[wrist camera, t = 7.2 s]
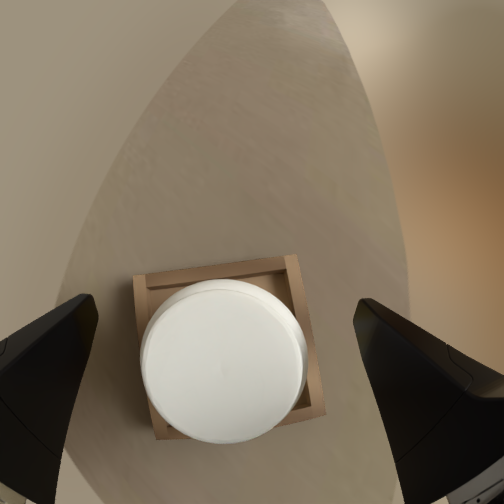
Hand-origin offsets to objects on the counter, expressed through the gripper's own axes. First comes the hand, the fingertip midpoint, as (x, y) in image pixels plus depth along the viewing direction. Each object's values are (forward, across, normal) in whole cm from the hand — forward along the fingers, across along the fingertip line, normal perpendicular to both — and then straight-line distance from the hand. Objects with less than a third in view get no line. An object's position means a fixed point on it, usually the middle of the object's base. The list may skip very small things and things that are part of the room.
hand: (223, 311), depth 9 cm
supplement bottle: (+5, 0, +7) cm, 8 cm away
